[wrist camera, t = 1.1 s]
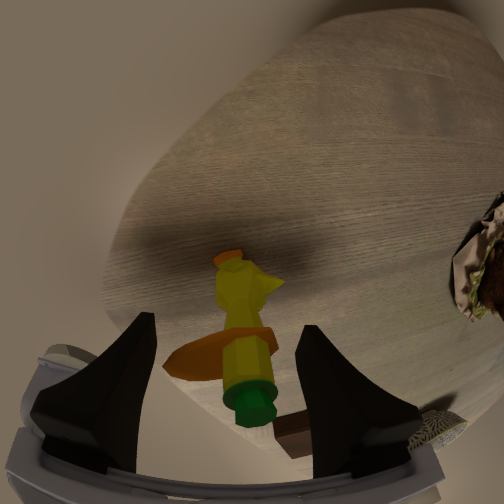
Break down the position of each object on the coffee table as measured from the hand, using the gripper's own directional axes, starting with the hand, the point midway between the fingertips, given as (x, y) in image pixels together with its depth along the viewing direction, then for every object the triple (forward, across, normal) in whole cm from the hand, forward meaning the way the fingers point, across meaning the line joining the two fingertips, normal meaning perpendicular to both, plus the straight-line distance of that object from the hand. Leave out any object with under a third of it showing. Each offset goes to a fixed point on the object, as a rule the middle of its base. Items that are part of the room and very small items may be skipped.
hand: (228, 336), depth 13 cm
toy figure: (+8, 0, 0) cm, 8 cm away
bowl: (+8, -39, +32) cm, 51 cm away
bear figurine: (+8, -28, -2) cm, 30 cm away
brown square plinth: (+7, -13, +24) cm, 29 cm away
